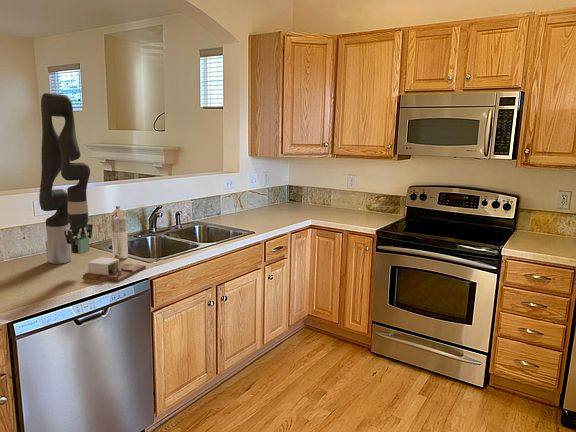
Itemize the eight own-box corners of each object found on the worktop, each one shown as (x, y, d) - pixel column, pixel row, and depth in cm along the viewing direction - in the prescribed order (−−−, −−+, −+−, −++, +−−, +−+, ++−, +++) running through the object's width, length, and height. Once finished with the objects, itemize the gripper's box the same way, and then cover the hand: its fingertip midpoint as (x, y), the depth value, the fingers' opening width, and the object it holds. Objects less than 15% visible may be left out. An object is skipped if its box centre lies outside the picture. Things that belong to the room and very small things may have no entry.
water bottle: (113, 256, 212) (110, 205, 207) (128, 255, 214) (125, 204, 209) (112, 260, 206) (109, 207, 201) (128, 258, 208) (125, 207, 203)
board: (83, 277, 181) (82, 263, 180) (112, 264, 199) (112, 251, 198) (118, 282, 177) (117, 267, 176) (145, 268, 195) (145, 254, 194)
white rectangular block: (88, 273, 181) (87, 262, 180) (101, 268, 189) (100, 257, 188) (107, 276, 179) (106, 264, 178) (119, 270, 186) (119, 259, 186)
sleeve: (70, 252, 182) (70, 238, 180) (79, 249, 186) (78, 236, 185) (81, 254, 180) (80, 240, 179) (89, 251, 185) (88, 237, 184)
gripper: (82, 207, 187) (84, 245, 191) (56, 213, 174) (59, 254, 178) (97, 209, 186) (99, 247, 189) (72, 215, 172) (75, 257, 176)
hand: (80, 251), depth 183 cm, fingers closed on sleeve, 5 cm apart
